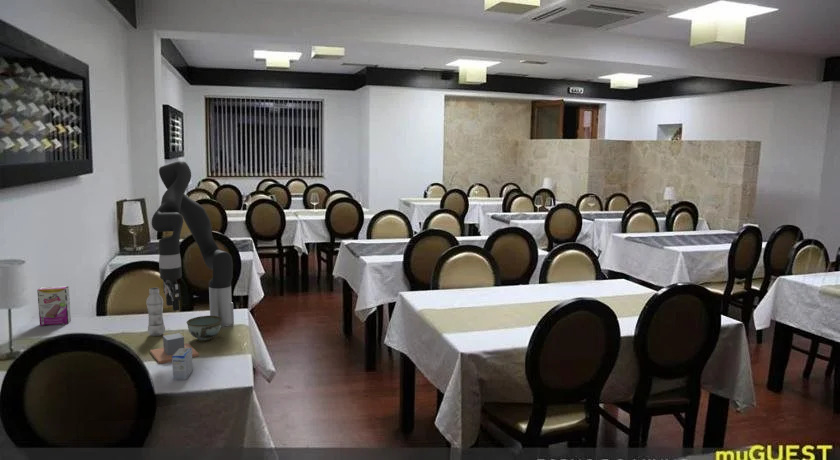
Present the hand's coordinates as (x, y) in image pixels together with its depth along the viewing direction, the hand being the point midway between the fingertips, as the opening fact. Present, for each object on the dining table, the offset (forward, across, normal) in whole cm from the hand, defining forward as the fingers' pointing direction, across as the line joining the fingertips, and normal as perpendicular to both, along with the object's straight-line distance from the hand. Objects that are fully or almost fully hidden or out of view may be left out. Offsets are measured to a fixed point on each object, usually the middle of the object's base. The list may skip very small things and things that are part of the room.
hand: (172, 307), depth 218 cm
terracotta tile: (+18, 0, 0) cm, 18 cm away
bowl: (+19, +11, -15) cm, 26 cm away
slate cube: (+17, 0, 0) cm, 17 cm away
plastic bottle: (+18, +27, 0) cm, 33 cm away
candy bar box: (+18, +70, +32) cm, 79 cm away
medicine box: (+18, -23, +4) cm, 30 cm away
